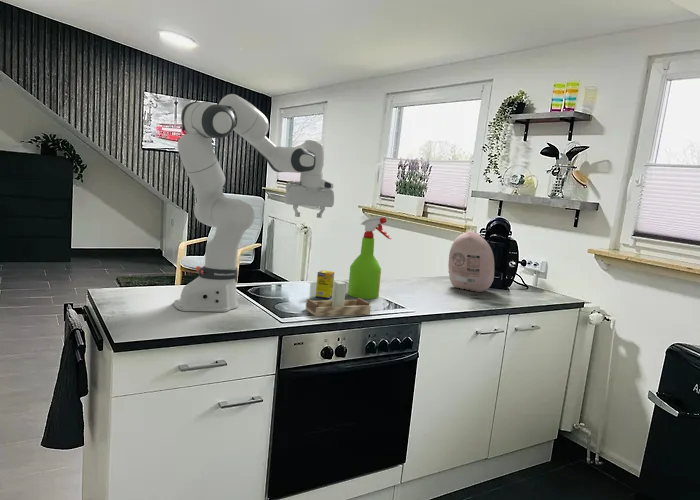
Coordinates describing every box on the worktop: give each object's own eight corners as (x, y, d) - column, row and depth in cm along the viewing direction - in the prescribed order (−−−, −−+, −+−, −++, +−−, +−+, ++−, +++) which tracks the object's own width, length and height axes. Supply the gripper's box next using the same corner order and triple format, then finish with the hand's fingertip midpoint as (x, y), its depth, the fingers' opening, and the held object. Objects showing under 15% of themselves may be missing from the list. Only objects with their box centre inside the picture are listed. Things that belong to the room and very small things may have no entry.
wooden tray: (316, 316, 185) (317, 305, 185) (305, 309, 194) (306, 298, 193) (369, 314, 196) (370, 303, 195) (357, 307, 204) (358, 297, 204)
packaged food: (495, 291, 266) (502, 233, 262) (483, 296, 249) (491, 234, 245) (454, 284, 277) (461, 228, 273) (440, 288, 260) (447, 229, 257)
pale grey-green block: (336, 310, 192) (338, 283, 191) (331, 307, 196) (334, 281, 194) (343, 309, 194) (346, 283, 192) (339, 307, 197) (341, 281, 196)
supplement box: (329, 299, 214) (331, 273, 212) (315, 297, 215) (317, 271, 213) (332, 297, 219) (334, 271, 218) (318, 295, 221) (321, 269, 219)
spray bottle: (377, 302, 216) (385, 218, 212) (341, 294, 226) (348, 214, 222) (393, 298, 228) (401, 218, 223) (358, 290, 238) (365, 214, 233)
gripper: (289, 180, 199) (286, 216, 201) (337, 184, 209) (334, 219, 210) (283, 180, 204) (281, 215, 206) (330, 184, 214) (327, 217, 216)
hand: (308, 217), depth 208 cm, fingers open, 8 cm apart
